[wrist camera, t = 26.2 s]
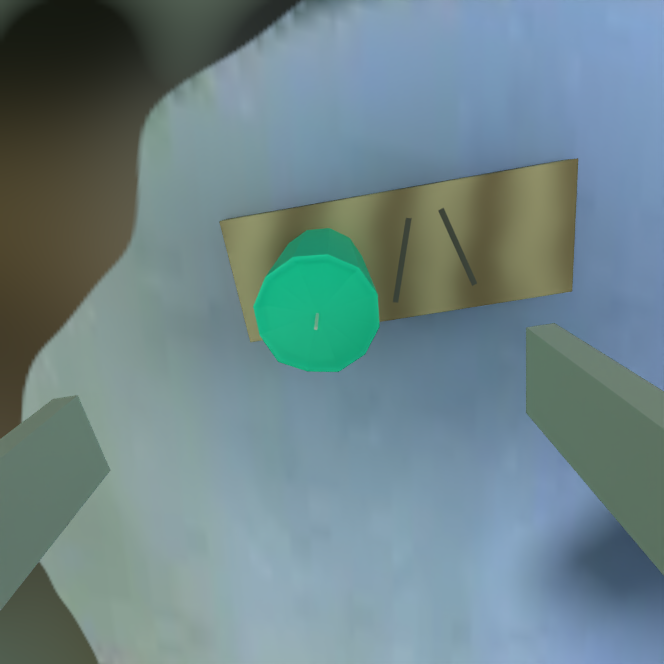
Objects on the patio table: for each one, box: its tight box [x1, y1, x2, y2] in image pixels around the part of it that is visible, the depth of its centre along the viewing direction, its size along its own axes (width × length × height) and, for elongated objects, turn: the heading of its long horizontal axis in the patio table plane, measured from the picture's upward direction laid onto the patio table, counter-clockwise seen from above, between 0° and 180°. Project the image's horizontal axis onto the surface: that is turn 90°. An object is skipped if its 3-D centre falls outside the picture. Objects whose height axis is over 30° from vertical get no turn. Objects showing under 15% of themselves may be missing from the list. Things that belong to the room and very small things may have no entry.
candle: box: [253, 228, 380, 372], centre depth 23 cm, size 6×6×12 cm
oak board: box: [220, 159, 578, 342], centre depth 29 cm, size 24×9×2 cm, turn 99°
